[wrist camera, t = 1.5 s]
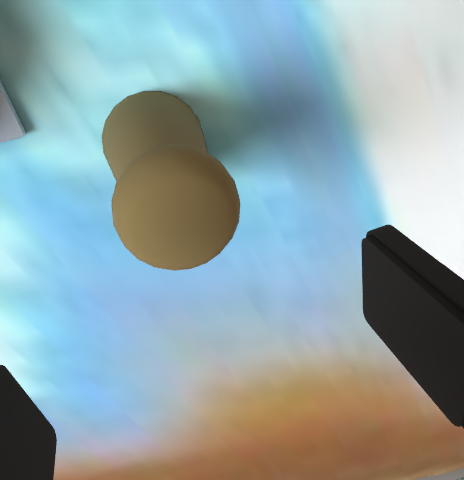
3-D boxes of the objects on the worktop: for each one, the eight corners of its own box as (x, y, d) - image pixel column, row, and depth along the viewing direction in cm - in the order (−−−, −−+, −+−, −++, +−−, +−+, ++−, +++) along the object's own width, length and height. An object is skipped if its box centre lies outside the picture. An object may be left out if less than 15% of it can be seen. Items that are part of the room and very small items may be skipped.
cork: (116, 198, 25) (122, 309, 16) (88, 99, 22) (77, 168, 13) (209, 179, 26) (264, 274, 17) (195, 82, 23) (255, 135, 14)
